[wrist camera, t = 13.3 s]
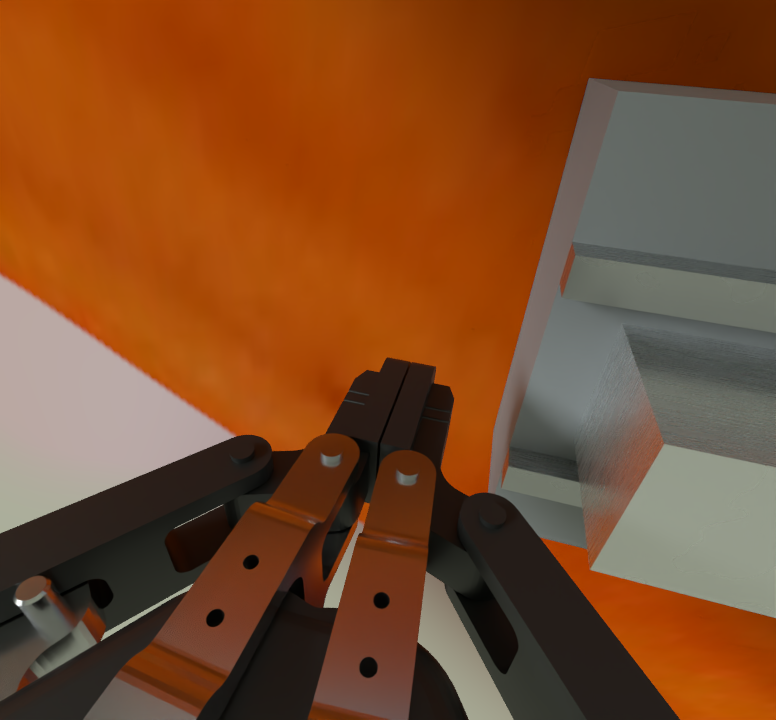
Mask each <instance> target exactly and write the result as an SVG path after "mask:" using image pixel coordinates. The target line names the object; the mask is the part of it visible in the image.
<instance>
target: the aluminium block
mask: <svg viewBox="0 0 776 720" xmlns="http://www.w3.org/2000/svg"><path fill="white" fill-rule="evenodd" d="M574 443H575V451H576V460H577V468H578V476H579V484H580V493H581V501H582V509H583V517H584V526H585V534H586V542H587V550H588V558H589V567H590V570H593V571H597V572H601V573H605V574H608V575H612V576H616V577H620V578H624V579H628V580H632V581H635V582H639V583H643V584H647V585H651V586H655V587H658V588H662V589H666V590H670V591H674V592H678V593H681V594H685V595H689V596H693V597H697V598H701V599H705V600H708V601H712V602H716V603H720V604H724V605H728V606H731V607H735V608H739V609H743V610H747V611H751V612H755V613H758V614H762V615H766V616H770V617H774V618H776V350H774V349H768V348H763V347H757V346H751V345H745V344H739V343H734V342H728V341H722V340H716V339H710V338H704V337H699V336H693V335H687V334H681V333H675V332H670V331H664V330H658V329H652V328H646V327H640V326H635V325H629V324H623V323H622V325H621V327H620V329H619V332H618V334H617V337H616V339H615V341H614V344H613V346H612V348H611V351H610V353H609V355H608V358H607V360H606V363H605V365H604V367H603V370H602V372H601V374H600V377H599V379H598V381H597V384H596V386H595V388H594V391H593V393H592V396H591V398H590V400H589V403H588V405H587V407H586V410H585V412H584V414H583V417H582V419H581V421H580V424H579V426H578V429H577V431H576V433H575V436H574Z"/></svg>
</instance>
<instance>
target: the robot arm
mask: <svg viewBox="0 0 776 720" xmlns="http://www.w3.org/2000/svg"><path fill="white" fill-rule="evenodd" d="M435 372H436V367H434V366H429V365H424V364H419V363H414V362H412V363H411V362H408V361H403V360H398V359H393V358H388V357H387V358H386V360H385V362H384V364H383V366H382V368H381V370H380V372H374V371H369V370H366V371H365V372H364V373H362V374H361V375H360V376H358V377H357V378H355V380H354V382H353V384H352V385H351V387H350V389H349V392H348V393H347V395H346V397H345V398H344V401H343V402H342V404H341V406H340V408H339V410H338V411H337V413H336V415H335V417H334V419H333V421H332V423H331V424H330V426H329V428H328V430H327V432H326V434H324V435H320V436H318V437H316V438H314V439H313V440H312V441H310V442H309V443H308V445H307V446H306V447H305V449H302V450H296V451H272V449H271V446H270V444H269V443H268V442H267V441H266V440H265V439H263V438H261V437H259V436H255V435H241V436H237V437H234V438H231V439H229V440H226V441H224V442H221V443H219V444H217V445H214V446H212V447H209V448H207V449H204V450H202V451H200V452H197V453H195V454H192V455H190V456H187V457H185V458H183V459H180V460H178V461H175V462H173V463H171V464H168V465H166V466H163V467H161V468H158V469H156V470H153V471H151V472H149V473H146V474H144V475H141V476H139V477H136V478H134V479H132V480H129V481H127V482H124V483H122V484H120V485H117V486H115V487H112V488H110V489H107V490H105V491H103V492H100V493H98V494H95V495H93V496H90V497H88V498H85V499H83V500H81V501H78V502H76V503H73V504H71V505H69V506H66V507H64V508H61V509H59V510H56V511H54V512H52V513H49V514H47V515H44V516H42V517H39V518H37V519H34V520H32V521H30V522H27V523H25V524H22V525H20V526H17V527H15V528H13V529H10V530H8V531H5V532H3V533H1V534H0V720H469V719H468V717H467V715H466V712H465V710H464V708H463V705H462V703H461V701H460V698H459V696H458V694H457V692H456V690H455V687H454V685H453V684H452V682H451V680H450V679H449V677H448V675H447V673H446V672H445V671H444V669H443V668H442V667H441V665H440V664H439V663H438V661H437V660H436V659H435V658H434V657H433V656H432V655H431V654H430V653H429V651H427V650H426V649H425V648H424V647H423V646H422V645H420V644H419V643H418V642H417V641H418V633H419V625H420V615H421V608H422V599H423V591H424V582H425V574H426V571H427V572H428V573H430V574H431V575H433V576H434V577H436V578H437V579H439V580H440V581H442V582H443V583H444V584H445V589H446V592H447V594H448V596H449V598H450V600H451V602H452V604H453V606H454V608H455V610H456V611H457V613H458V615H459V617H460V619H461V621H462V623H463V625H464V627H465V628H466V630H467V632H468V634H469V636H470V638H471V640H472V642H473V644H474V645H475V647H476V649H477V651H478V653H479V655H480V656H481V659H482V660H483V662H484V664H485V666H486V668H487V670H488V672H489V674H490V675H491V677H492V679H493V681H494V683H495V685H496V687H497V689H498V690H499V692H500V694H501V696H502V698H503V700H504V702H505V704H506V706H507V707H508V709H509V711H510V713H511V715H512V717H513V719H514V720H680V719H679V718H678V716H677V715H676V714H675V712H674V711H673V710H672V709H671V707H670V706H669V705H668V703H667V702H666V701H665V699H664V698H663V697H662V696H661V694H660V693H659V692H658V690H657V689H656V688H655V686H654V685H653V684H652V683H651V681H650V680H649V679H648V677H647V676H646V675H645V674H644V672H643V671H642V670H641V668H640V667H639V666H638V664H637V663H636V662H635V661H634V659H633V658H632V657H631V655H630V654H629V653H628V651H627V650H626V649H625V648H624V646H623V645H622V644H621V642H620V641H619V640H618V639H617V637H616V636H615V635H614V633H613V632H612V631H611V629H610V628H609V627H608V626H607V624H606V623H605V622H604V620H603V619H602V618H601V617H600V615H599V614H598V613H597V611H596V610H595V609H594V607H593V606H592V605H591V604H590V602H589V601H588V600H587V598H586V597H585V596H584V594H583V593H582V592H581V591H580V589H579V588H578V587H577V585H576V584H575V583H574V582H573V580H572V579H571V578H570V576H569V575H568V574H567V572H566V571H565V570H564V569H563V567H562V566H561V565H560V563H559V562H558V561H557V560H556V558H555V557H554V556H553V554H552V553H551V552H550V550H549V549H548V548H547V547H546V545H545V544H544V543H543V541H542V540H541V539H540V537H539V536H538V535H537V534H536V532H535V531H534V530H533V528H532V527H531V526H530V525H529V523H528V522H527V521H526V519H525V518H524V517H523V515H522V514H521V513H520V512H519V510H518V509H517V508H516V507H515V506H514V505H513V504H512V503H511V502H510V501H509V500H507V499H506V498H504V497H502V496H499V495H496V494H493V493H477V494H474V495H472V496H470V497H469V496H467V495H465V494H463V493H462V492H460V491H458V490H457V489H455V488H454V487H452V486H451V485H450V484H449V483H448V482H447V481H446V479H445V478H444V476H443V474H442V472H441V463H442V459H443V454H444V449H445V445H446V440H447V436H448V430H449V425H450V419H451V414H452V408H453V403H454V397H453V394H452V392H451V389H450V387H449V386H444V385H439V384H434V379H435ZM364 502H367V503H370V505H369V509H368V513H367V517H366V521H365V524H364V528H363V532H362V533H360V534H359V535H358V538H357V541H356V544H355V547H354V551H353V555H352V558H351V562H350V566H349V570H348V573H347V577H346V581H345V585H344V589H343V592H342V596H341V599H340V603H339V607H338V608H323V607H324V602H325V598H326V594H327V591H328V589H329V586H330V584H331V582H332V580H333V577H334V575H335V573H336V571H337V569H338V567H339V564H340V562H341V560H342V558H343V556H344V553H345V552H346V549H347V547H348V545H349V543H350V541H351V539H352V536H353V534H354V532H355V530H356V528H357V524H358V517H359V515H360V512H361V510H362V507H363V504H364ZM222 504H223V505H222ZM220 505H222V506H220ZM218 506H220V507H218ZM216 507H218V508H216ZM214 508H216V509H214ZM212 509H214V510H212ZM210 510H212V511H210ZM208 511H210V512H208ZM206 512H208V513H206ZM204 513H206V514H204ZM202 514H204V515H202ZM200 515H202V516H200ZM198 516H200V517H198ZM196 517H198V518H196ZM193 518H196V519H194V520H192V521H190V522H187V521H189V520H191V519H193ZM185 522H187V523H185ZM183 523H185V524H183ZM181 524H183V525H181ZM179 525H181V526H180V527H177V526H179ZM175 527H177V528H175ZM174 528H175V529H174ZM194 582H195V583H194ZM193 583H194V584H193ZM191 584H193V585H192V587H191V588H190V590H189V591H187V592H185V593H183V594H180V595H178V596H176V597H174V598H172V599H171V600H169V601H167V602H166V603H164V604H162V605H161V606H159V607H157V608H156V609H154V610H152V611H151V612H149V613H147V614H146V615H144V616H142V617H141V618H139V619H137V620H136V621H134V622H132V623H130V624H129V625H127V626H126V627H124V628H122V629H120V630H119V631H117V632H115V633H114V634H112V635H110V636H109V637H107V638H105V639H104V640H102V641H101V639H102V637H103V635H104V633H105V632H107V631H108V630H110V629H112V628H114V627H116V626H117V625H119V624H121V623H123V622H124V621H126V620H128V619H130V618H132V617H133V616H135V615H137V614H139V613H141V612H142V611H144V610H146V609H148V608H150V607H151V606H153V605H155V604H157V603H159V602H160V601H162V600H164V599H166V598H168V597H169V596H171V595H173V594H175V593H176V592H178V591H180V590H182V589H184V588H185V587H187V586H189V585H191Z"/></svg>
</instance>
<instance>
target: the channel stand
mask: <svg viewBox="0 0 776 720" xmlns="http://www.w3.org/2000/svg"><path fill="white" fill-rule="evenodd" d="M622 323H623V324H629V325H635V326H640V327H646V328H652V329H658V330H664V331H670V332H675V333H681V334H687V335H693V336H699V337H704V338H710V339H716V340H722V341H728V342H734V343H739V344H745V345H751V346H757V347H763V348H768V349H774V350H776V94H774V93H762V92H750V91H738V90H726V89H714V88H702V87H690V86H678V85H666V84H654V83H642V82H630V81H618V80H606V79H594V78H589V80H588V84H587V87H586V91H585V95H584V98H583V102H582V106H581V109H580V113H579V117H578V120H577V124H576V128H575V132H574V135H573V139H572V143H571V146H570V150H569V154H568V157H567V161H566V165H565V168H564V172H563V176H562V179H561V183H560V187H559V191H558V194H557V198H556V202H555V205H554V209H553V213H552V216H551V220H550V224H549V227H548V231H547V235H546V239H545V242H544V246H543V250H542V253H541V257H540V261H539V264H538V268H537V272H536V275H535V279H534V283H533V287H532V290H531V294H530V298H529V301H528V305H527V309H526V312H525V316H524V320H523V323H522V327H521V331H520V335H519V338H518V342H517V346H516V349H515V353H514V357H513V360H512V364H511V368H510V371H509V375H508V379H507V383H506V386H505V390H504V394H503V397H502V401H501V405H500V408H499V412H498V416H497V419H496V423H495V427H494V432H493V444H492V455H491V467H490V478H489V489H488V493H493V494H496V495H499V496H502V497H504V498H506V499H507V500H509V501H510V502H511V503H512V504H513V505H514V506H515V507H516V508H517V509H518V510H519V512H520V513H521V514H522V515H523V517H524V518H525V519H526V521H527V522H528V523H529V525H530V526H531V527H532V528H533V530H534V531H535V532H536V534H537V535H538V536H539V537H541V538H545V539H549V540H553V541H557V542H561V543H565V544H569V545H573V546H577V547H581V548H585V549H587V542H586V534H585V526H584V517H583V509H582V501H581V493H580V484H579V476H578V468H577V460H576V451H575V443H574V436H575V433H576V431H577V429H578V426H579V424H580V421H581V419H582V417H583V414H584V412H585V410H586V407H587V405H588V403H589V400H590V398H591V396H592V393H593V391H594V388H595V386H596V384H597V381H598V379H599V377H600V374H601V372H602V370H603V367H604V365H605V363H606V360H607V358H608V355H609V353H610V351H611V348H612V346H613V344H614V341H615V339H616V337H617V334H618V332H619V329H620V327H621V325H622Z"/></svg>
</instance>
